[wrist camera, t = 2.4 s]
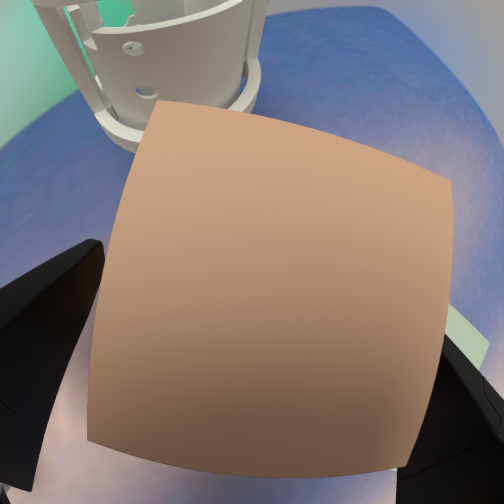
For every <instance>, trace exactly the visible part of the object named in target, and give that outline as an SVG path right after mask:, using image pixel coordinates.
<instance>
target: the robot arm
mask: <svg viewBox="0 0 504 504" xmlns="http://www.w3.org/2000/svg"><path fill="white" fill-rule="evenodd" d="M104 264H105V255H104V247H103V243H102V242H101V241H98V240H94V239H87V240H85V241H83V242H81V243H79V244H78V245H76V246H74V247H72V248H70V249H68V250H66V251H64V252H63V253H61V254H59V255H57V256H55V257H53V258H52V259H50V260H48V261H46V262H44V263H43V264H41V265H39V266H37V267H36V268H34V269H32V270H30V271H29V272H27V273H25V274H24V275H22V276H20V277H19V278H17V279H15V280H14V281H12V282H10V283H9V284H7V285H5V286H4V287H2V288H1V289H0V504H10V502H9V499H8V497H7V495H6V493H5V491H4V489H3V487H2V486H3V483H4V484H6V485H9V486H12V487H15V488H18V489H22V490H25V491H28V492H31V491H32V487H33V482H34V477H35V472H36V467H37V463H38V459H39V454H40V450H41V447H42V443H43V439H44V435H45V431H46V428H47V424H48V421H49V418H50V414H51V411H52V408H53V405H54V402H55V399H56V396H57V393H58V390H59V388H60V385H61V382H62V379H63V377H64V374H65V371H66V369H67V366H68V363H69V361H70V358H71V356H72V353H73V351H74V349H75V346H76V344H77V341H78V339H79V337H80V334H81V332H82V330H83V328H84V325H85V323H86V321H87V318H88V316H89V313H90V311H91V308H92V305H93V302H94V299H95V296H96V293H97V291H98V288H99V285H100V282H101V279H102V274H103V269H104ZM396 504H504V400H503V399H502V397H501V396H500V395H499V394H498V393H497V392H496V391H495V389H494V388H493V387H492V386H491V385H490V383H489V382H488V381H487V380H486V379H485V377H484V376H482V374H481V373H480V372H479V371H478V369H477V368H476V367H475V366H474V365H473V364H472V362H471V361H470V360H469V359H468V358H467V357H466V356H465V354H464V353H463V352H462V351H461V350H460V349H459V348H458V347H457V346H456V345H455V343H454V342H453V341H452V340H451V339H450V338H449V337H448V336H447V335H446V334H444V339H443V345H442V350H441V355H440V360H439V364H438V369H437V373H436V377H435V381H434V385H433V389H432V392H431V396H430V400H429V403H428V406H427V410H426V413H425V416H424V419H423V422H422V425H421V428H420V431H419V434H418V436H417V439H416V442H415V444H414V447H413V449H412V452H411V454H410V457H409V459H408V462H407V464H406V466H404V467H399V468H397V485H396Z"/></svg>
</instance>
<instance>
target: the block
mask: <svg viewBox="0 0 504 504" xmlns="http://www.w3.org/2000/svg"><path fill="white" fill-rule="evenodd" d="M452 258H453V203H452V186H451V181H450V180H448V179H446V178H443V177H441V176H439V175H437V174H435V173H433V172H430V171H428V170H426V169H424V168H421V167H419V166H417V165H415V164H412V163H410V162H407V161H405V160H402V159H400V158H398V157H395V156H392V155H390V154H387V153H385V152H382V151H379V150H377V149H374V148H371V147H368V146H366V145H363V144H360V143H357V142H354V141H351V140H348V139H345V138H342V137H338V136H335V135H332V134H329V133H325V132H322V131H319V130H315V129H312V128H308V127H304V126H301V125H297V124H293V123H289V122H285V121H281V120H277V119H272V118H268V117H264V116H259V115H254V114H249V113H244V112H239V111H234V110H228V109H223V108H217V107H211V106H204V105H197V104H190V103H182V102H173V101H163V100H157V102H156V104H155V107H154V109H153V111H152V114H151V116H150V118H149V121H148V123H147V126H146V128H145V131H144V133H143V136H142V139H141V141H140V144H139V147H138V149H137V152H136V155H135V158H134V160H133V163H132V166H131V169H130V172H129V175H128V178H127V181H126V184H125V188H124V191H123V194H122V197H121V201H120V204H119V208H118V211H117V215H116V219H115V222H114V226H113V230H112V234H111V238H110V242H109V246H108V251H107V255H106V259H105V264H104V269H103V274H102V279H101V284H100V290H99V295H98V301H97V308H96V314H95V321H94V328H93V337H92V345H91V355H90V367H89V381H88V405H87V440H88V441H91V442H93V443H96V444H99V445H102V446H104V447H107V448H110V449H113V450H116V451H119V452H122V453H126V454H129V455H132V456H136V457H139V458H143V459H147V460H150V461H154V462H159V463H163V464H167V465H172V466H176V467H181V468H187V469H192V470H198V471H204V472H211V473H218V474H226V475H236V476H247V477H262V478H319V477H335V476H346V475H355V474H363V473H370V472H377V471H383V470H388V469H394V468H399V467H404V466H406V464H407V462H408V459H409V457H410V454H411V452H412V449H413V447H414V444H415V442H416V439H417V436H418V434H419V431H420V428H421V425H422V422H423V419H424V416H425V413H426V410H427V406H428V403H429V400H430V396H431V392H432V389H433V385H434V381H435V377H436V373H437V369H438V364H439V360H440V355H441V350H442V345H443V339H444V334H445V328H446V321H447V314H448V306H449V297H450V287H451V275H452Z"/></svg>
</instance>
